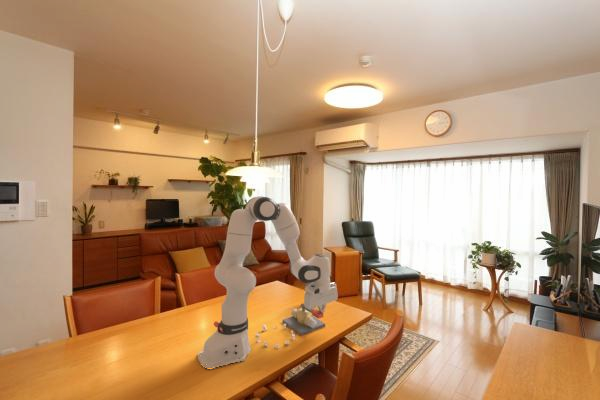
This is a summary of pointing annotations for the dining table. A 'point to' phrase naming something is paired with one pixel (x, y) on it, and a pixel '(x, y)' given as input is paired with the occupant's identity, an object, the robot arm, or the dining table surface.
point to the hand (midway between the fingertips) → (321, 312)
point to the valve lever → (313, 312)
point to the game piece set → (276, 344)
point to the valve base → (302, 327)
